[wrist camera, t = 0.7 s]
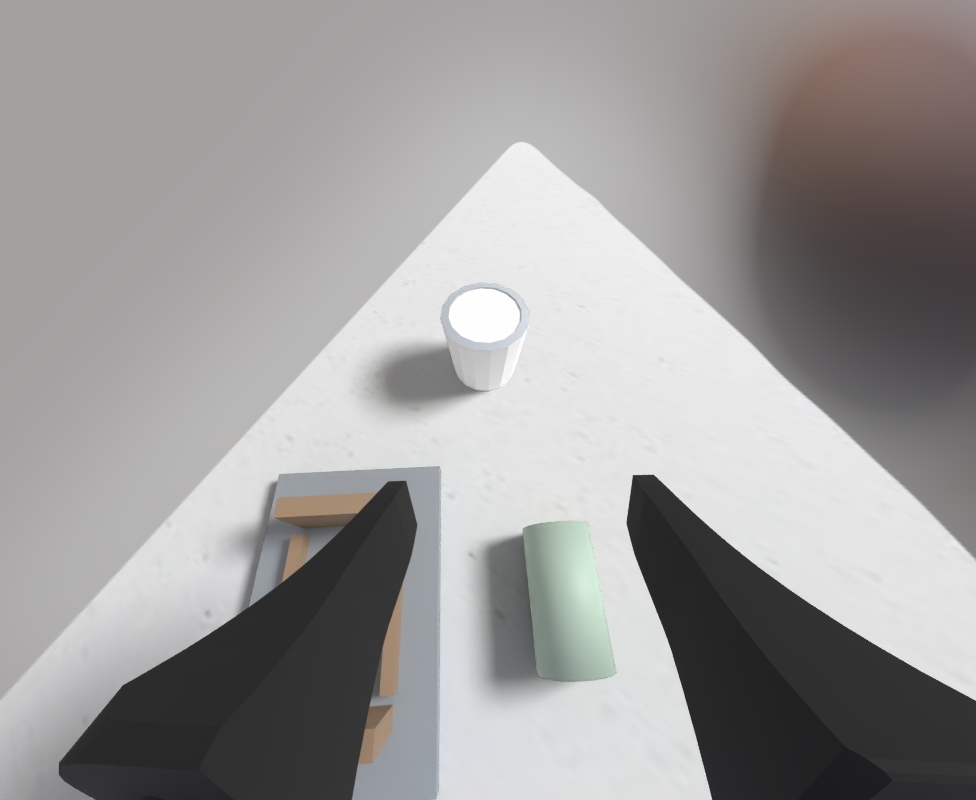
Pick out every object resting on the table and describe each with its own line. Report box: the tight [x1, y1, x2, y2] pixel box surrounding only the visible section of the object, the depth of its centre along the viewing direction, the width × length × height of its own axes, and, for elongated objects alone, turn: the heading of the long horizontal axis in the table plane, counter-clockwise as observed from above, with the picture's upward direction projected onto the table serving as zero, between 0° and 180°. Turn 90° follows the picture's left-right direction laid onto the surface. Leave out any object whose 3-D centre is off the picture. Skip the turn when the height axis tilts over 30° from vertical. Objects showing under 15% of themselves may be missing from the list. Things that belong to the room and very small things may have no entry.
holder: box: [249, 466, 441, 800], centre depth 21 cm, size 18×12×5 cm, turn 3°
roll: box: [523, 521, 616, 682], centre depth 22 cm, size 8×4×4 cm, turn 3°
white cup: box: [440, 283, 529, 391], centre depth 30 cm, size 7×7×7 cm
